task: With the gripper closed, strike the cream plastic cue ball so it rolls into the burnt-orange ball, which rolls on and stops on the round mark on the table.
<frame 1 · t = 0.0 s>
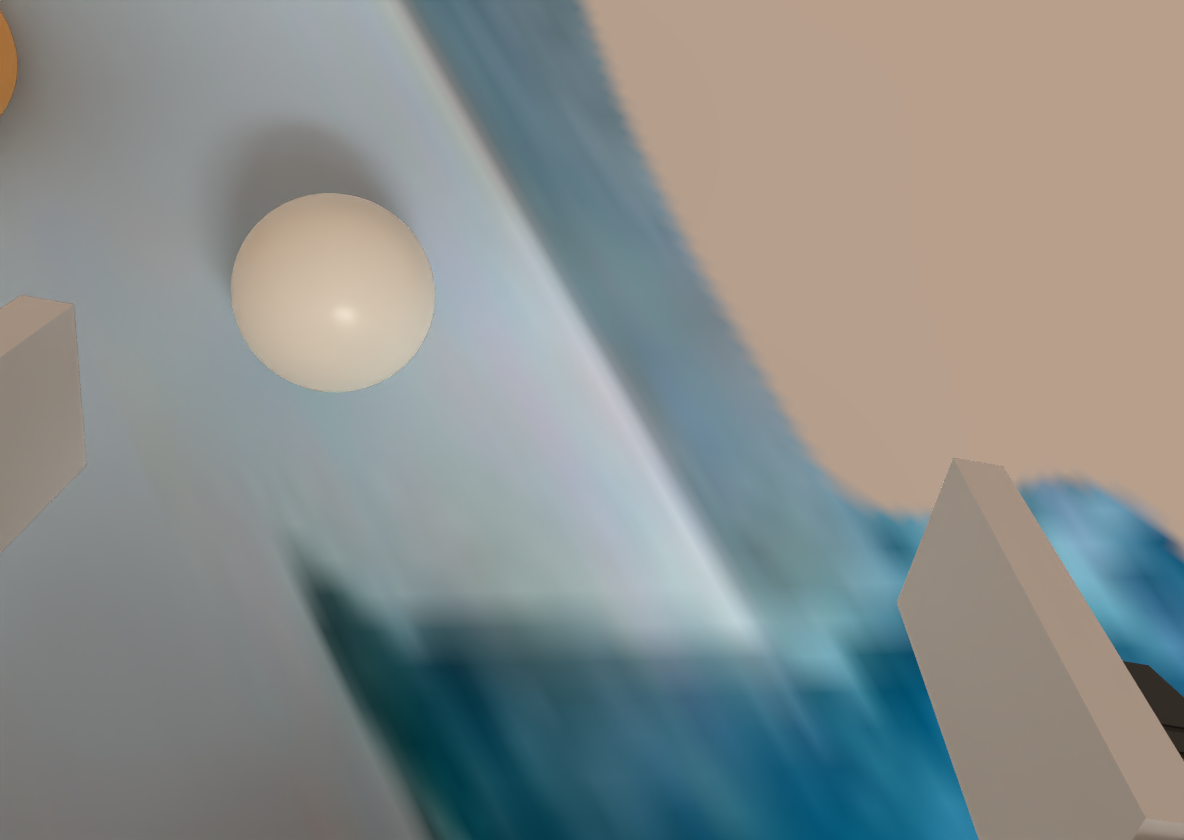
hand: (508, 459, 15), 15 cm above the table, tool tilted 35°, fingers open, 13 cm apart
cue ball: (335, 293, 28), on the table
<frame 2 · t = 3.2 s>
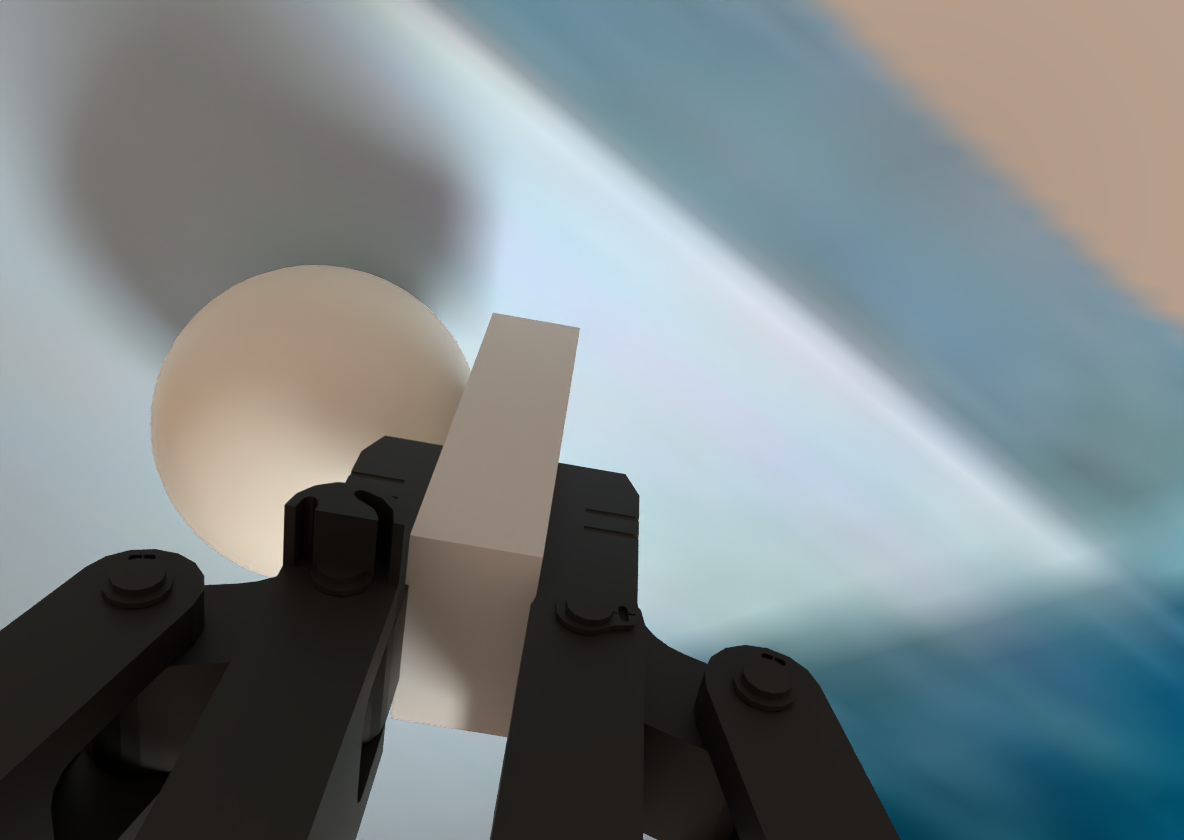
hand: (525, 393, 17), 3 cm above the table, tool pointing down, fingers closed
cue ball: (322, 423, 18), on the table, touching gripper
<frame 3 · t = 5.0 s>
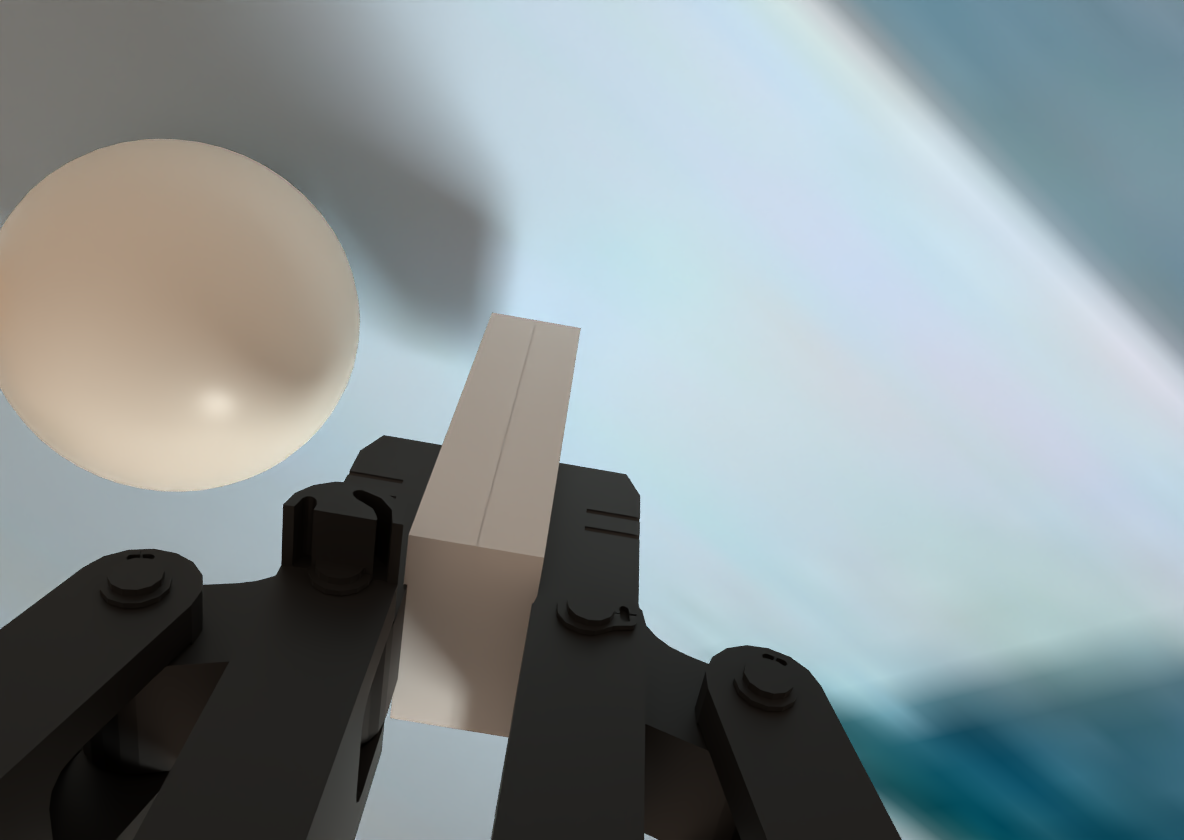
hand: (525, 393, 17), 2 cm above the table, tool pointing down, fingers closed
cue ball: (182, 318, 16), on the table
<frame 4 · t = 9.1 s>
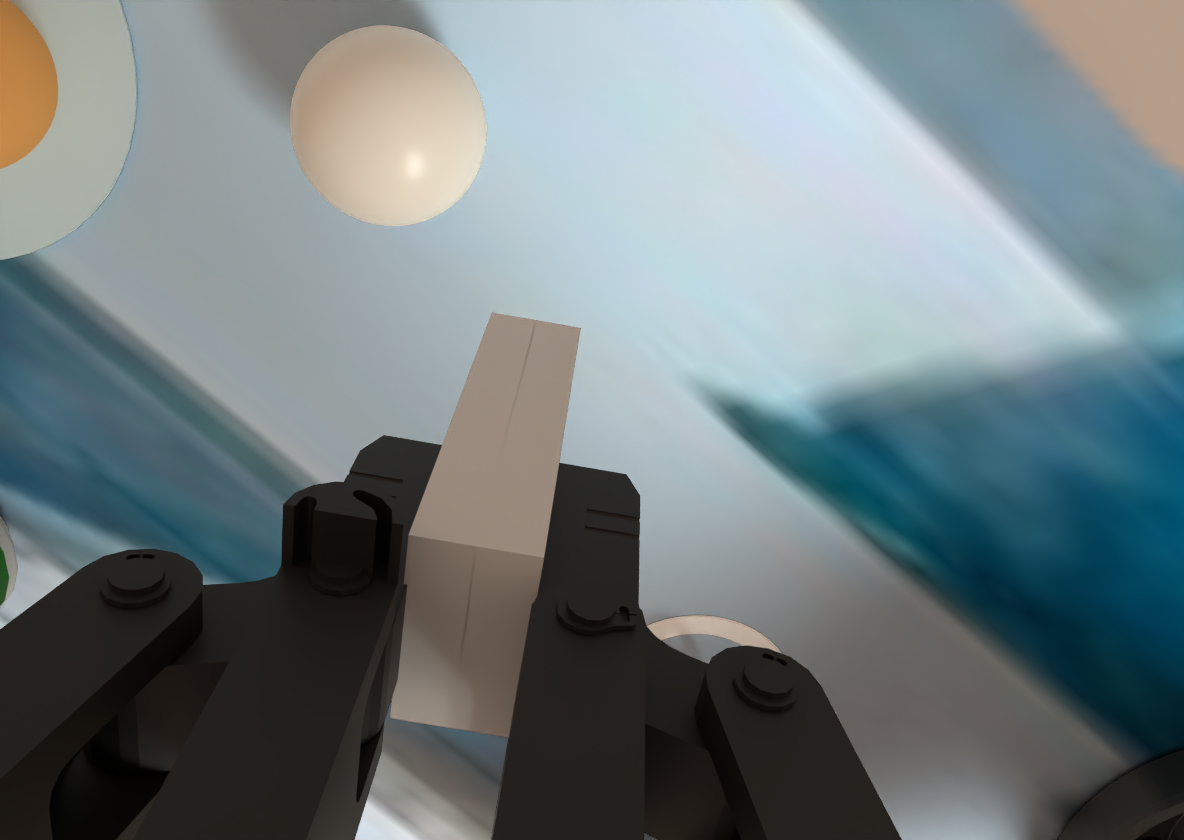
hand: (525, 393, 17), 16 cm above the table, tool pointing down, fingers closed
teacup and saucer: (627, 700, 43), on the table
cue ball: (390, 128, 29), on the table
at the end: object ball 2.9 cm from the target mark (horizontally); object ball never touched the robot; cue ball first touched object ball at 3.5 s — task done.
